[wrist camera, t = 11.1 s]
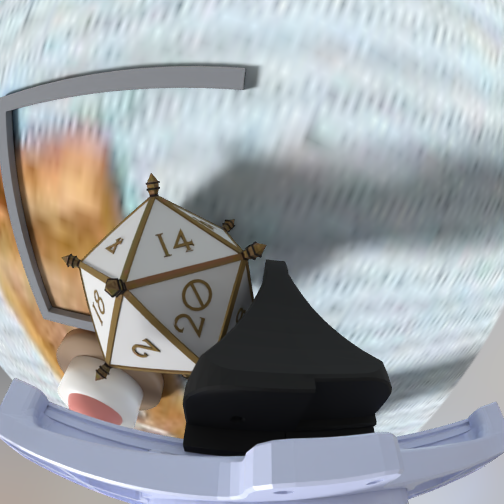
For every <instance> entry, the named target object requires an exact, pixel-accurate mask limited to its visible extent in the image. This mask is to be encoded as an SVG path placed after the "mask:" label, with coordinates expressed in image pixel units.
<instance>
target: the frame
mask: <svg viewBox="0 0 504 504" xmlns="http://www.w3.org/2000/svg"><path fill="white" fill-rule="evenodd" d="M245 71H246V69H245V68H237V67H218V66H170V67H150V68H138V69H127V70H118V71H111V72H103V73H97V74H91V75H85V76H79V77H74V78H69V79H65V80H60V81H56V82H52V83H48V84H44V85H40V86H36V87H32V88H29V89H26V90H22V91H19V92H16V93H13V94H10V95H7V96H4V97H1V98H0V165H1V173H2V179H3V186H4V191H5V197H6V202H7V207H8V212H9V216H10V220H11V224H12V228H13V232H14V236H15V240H16V243H17V247H18V250H19V254H20V257H21V260H22V263H23V266H24V269H25V272H26V275H27V278H28V281H29V284H30V286H31V289H32V292H33V294H34V297H35V299H36V302H37V304H38V307H39V309H40V311H41V314H42V316H43V318H44V319H47V320H50V321H54V322H57V323H61V324H65V325H69V326H73V327H77V328H81V329H85V330H89V331H94V332H95V330H94V326H93V323H92V319H91V316H88V315H84V314H79V313H75V312H70V311H66V310H62V309H58V308H54V307H52V306H51V304H50V301H49V298H48V296H47V293H46V290H45V287H44V284H43V282H42V279H41V276H40V272H39V269H38V266H37V263H36V260H35V256H34V253H33V249H32V246H31V242H30V238H29V234H28V230H27V226H26V222H25V217H24V212H23V207H22V202H21V197H20V191H19V185H18V179H17V171H16V163H15V154H14V143H13V127H12V110H14V109H18V108H21V107H25V106H29V105H33V104H38V103H42V102H47V101H52V100H57V99H62V98H67V97H73V96H80V95H86V94H93V93H101V92H110V91H120V90H132V89H149V88H219V89H236V90H244V80H245Z"/></svg>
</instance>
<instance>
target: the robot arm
mask: <svg viewBox="0 0 504 504" xmlns="http://www.w3.org/2000/svg"><path fill="white" fill-rule="evenodd" d="M391 390H392V387H391V384H390V380H389V377H388V374H387V371H386V369H385V367H384V364H383V362H382V361H380V360H379V359H377V358H375V357H373V356H372V355H370V354H368V353H366V352H365V351H363V350H361V349H360V348H358V347H357V346H355V345H354V344H352V343H351V342H350V341H348V340H347V339H346V338H344V337H343V336H342V335H340V334H339V333H338V332H337V331H336V330H334V329H333V328H332V327H331V326H330V325H329V324H328V323H327V322H325V321H324V320H323V319H322V318H321V317H320V315H319V314H318V313H317V312H316V311H315V310H314V309H313V308H312V307H311V306H310V304H309V303H308V302H307V301H306V299H305V298H304V297H303V295H302V294H301V292H300V291H299V290H298V288H297V287H296V285H295V284H294V282H293V281H292V279H291V277H290V276H289V274H288V269H287V266H286V263H285V262H284V261H274V260H266V262H265V269H264V275H263V282H262V285H261V287H260V290H259V291H258V293H257V295H256V297H255V299H254V300H253V302H252V304H251V305H250V307H249V308H248V310H247V311H246V312H245V314H244V315H243V316H242V318H241V319H240V320H239V321H238V322H237V324H236V325H235V326H234V327H233V328H232V329H231V330H230V331H229V332H228V333H227V334H226V335H225V336H224V337H223V338H222V339H221V340H220V341H219V342H217V343H216V344H215V345H214V346H212V347H211V348H210V349H208V350H207V351H206V352H205V353H203V354H202V355H201V356H200V358H199V360H198V361H197V363H196V365H195V366H194V368H193V370H192V372H191V374H190V376H189V379H188V381H187V384H186V387H185V392H184V398H183V408H184V414H185V419H186V428H185V434H184V439H180V438H174V437H168V436H163V435H158V434H153V433H149V432H144V431H140V430H136V429H132V428H128V427H124V426H120V425H116V424H113V423H109V422H106V421H103V420H99V419H96V418H93V417H90V416H87V415H84V414H81V413H78V412H75V411H72V410H70V409H67V408H64V407H62V406H59V405H57V404H54V403H52V402H49V401H48V399H47V397H46V396H45V394H44V393H43V392H42V391H41V390H39V389H38V388H36V387H34V386H32V385H30V384H28V383H26V382H24V381H21V380H19V379H17V378H14V380H13V381H12V383H11V385H10V387H9V389H8V391H7V393H6V395H5V397H4V399H3V401H2V403H1V405H0V439H1V440H3V441H4V442H5V443H6V444H8V445H9V446H10V447H11V448H13V449H14V450H15V451H17V452H18V453H19V454H21V455H22V456H23V457H25V458H27V459H28V460H30V461H32V462H34V463H36V464H38V465H39V466H41V467H43V468H45V469H47V470H49V471H51V472H53V473H55V474H57V475H59V476H61V477H63V478H65V479H68V480H70V481H72V482H74V483H76V484H79V485H81V486H83V487H86V488H88V489H91V490H93V491H96V492H98V493H101V494H104V495H107V496H110V497H112V498H115V499H118V500H121V501H124V502H127V503H131V504H409V503H408V499H411V498H414V497H417V496H419V495H422V494H425V493H427V492H430V491H433V490H435V489H437V488H440V487H442V486H445V485H447V484H449V483H451V482H454V481H456V480H458V479H460V478H463V477H465V476H467V475H469V474H471V473H473V472H475V471H477V470H479V469H480V468H482V467H483V466H485V465H486V464H488V463H490V462H491V461H493V460H494V459H495V458H497V457H498V456H500V455H501V454H503V453H504V418H503V416H502V413H501V411H500V408H499V406H498V404H497V402H493V403H491V404H488V405H485V406H482V407H480V408H479V409H477V410H476V411H474V412H473V413H472V414H471V415H470V416H469V418H468V419H465V420H462V421H458V422H455V423H452V424H448V425H445V426H441V427H438V428H434V429H430V430H426V431H421V432H417V433H413V434H408V435H403V436H398V437H396V436H395V435H393V434H392V433H389V432H376V433H375V432H374V428H373V426H375V425H376V422H377V421H376V417H375V413H376V412H377V411H378V410H379V409H380V407H381V406H382V405H383V404H384V403H385V402H386V400H387V399H388V397H389V396H390V394H391Z"/></svg>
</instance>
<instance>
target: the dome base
mask: <svg viewBox="0 0 504 504" xmlns="http://www.w3.org/2000/svg"><path fill="white" fill-rule="evenodd" d="M77 356H89V357H94V358H97V359H100V360H103V361H105V360H104V358H103V355H102V352H101V349H100V346H99V343H98V339H97V336H96V333H95V332H94V331H89V330H85V329H76V330H72V331H70V332H69V333H67V334H66V336H65V337H64V339H63V341H62V342H61V344H60V346H59V348H58V350H57V361H58V363H59V365H60V367H61V369H62V371H63V372H64V373H65V372H66V370H67V368H68V366H69V364H70V362H71V360H72V359H73V358H75V357H77ZM121 370H122V371H124V372H125V373H127V374H128V375H129V376H131V377H132V378H133V379H134V380H135V381H136V382H137V383H138V384H139V386H140V387H141V389H142V391H143V398H142V402H141V405H140V409H139V410H148V409H151V408H154V407H155V406H157V405H158V403H159V402H160V399H161V395H162V391H163V387H164V379H163V376H162V374H161V373H156V372H145V371H135V370H126V369H121Z"/></svg>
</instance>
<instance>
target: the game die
mask: <svg viewBox="0 0 504 504" xmlns="http://www.w3.org/2000/svg"><path fill="white" fill-rule="evenodd" d="M158 183H160V181H158V180H157V179H156V178H155V177H154V176H153V174H152V173H151V174H150V177H149V179H148V182H147V183H146V185H147V188H148V189H147V191H148V192H149V194H150V197H149V198H148V199H147V200H145V201H144V202H143V203H142V204H141V205H140V206H138V207H137V208H136V209H135V210H134V211H133V212H132V213H131V214H129V215H128V216H127V217H126V218H125V219H124V220H123V221H122V222H120V223H119V224H118V225H117V226H116V227H115V228H114V229H113V230H112V231H111V232H110V233H109V234H108V235H106V236H105V237H104V238H103V239H102V240H101V241H100V242H99V243H98V244H97V245H96V246H95V247H94V248H93V249H92V250H91V251H90V252H89V253H88V254H87V255H86V256H85V257H84V258H83V259H82V260H79V259H78V258H77V256H73V255H72V254H70V255H68V256H64V257H61V258H62V259H63V260H64V261H65V262H66V264H67V266H68V267H69V266H71V267H72V268H74V267H78V268H79V270H80V275H81V280H82V284H83V288H84V293H85V297H86V301H87V305H88V308H89V312H90V316H91V319H92V323H93V326H94V330H95V333H96V336H97V339H98V343H99V346H100V349H101V352H102V355H103V358H104V360H105V363H104V364H103V365H102V366H101V365H100V366H99V367H100V368H99V369H98V370H97V369H96V370H95V371H96V377H95V381H97V380H101V379H107V378H106V377H107V375H109V371H110V369H111V368H117V369H126V370H135V371H145V372H156V373H169V374H183V375H182V377H184V378H185V379H187V380H188V379H189V376H190V374H191V372H192V370H193V368H194V366H195V365H196V363H197V361H198V360H199V358H200V356H201V355H202V354H203V353H205V352H206V351H207V350H208V349H210V348H211V347H212V346H214V345H215V344H216V343H217V342H219V341H220V340H221V339H222V338H223V337H224V336H225V335H226V334H227V333H228V332H229V331H230V330H231V329H232V328H233V327H234V326H235V325H236V324H237V322H238V321H239V320H240V319H241V318H242V316H243V315H244V314H245V312H246V311H247V310H248V308H249V307H250V305H251V304H252V302H253V300H254V296H253V290H252V284H251V278H250V271H249V265H248V259H253V260H256V258H257V257H260V258H261V257H262V253H263V251H264V249H265V247H266V245H265V244H259V243H256V242H254V243H253V244H252V245H249V246H248V247H246V248H245V249H246V250H244V251H243V250H242V249H241V248H240V247H239V245H238V244H237V243H236V242H235V241H234V240H233V239H232V237H231V236H230V235H229V234H228V233H227V232H229V231H230V230H231V229H232V228H233V227H234V226H235V225H234V219H233V220H225V223H222V225H223V226H222V228H221V227H219V226H217V225H215V224H213V223H211V222H210V221H208V220H206V219H204V218H202V217H200V216H198V215H196V214H194V213H192V212H190V211H188V210H186V209H184V208H182V207H180V206H178V205H176V204H174V203H172V202H170V201H168V200H166V199H164V198H162V197H160V196H159V195H158V190H159V189H160V187H159V185H158Z"/></svg>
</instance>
